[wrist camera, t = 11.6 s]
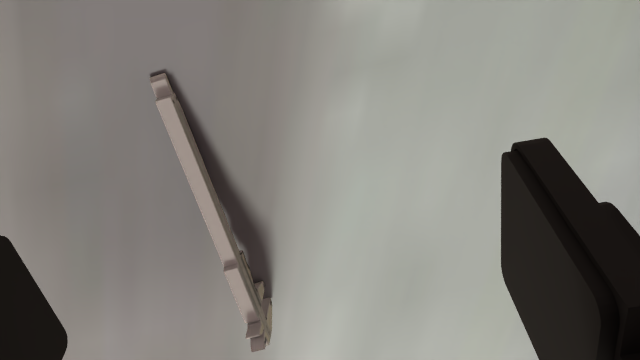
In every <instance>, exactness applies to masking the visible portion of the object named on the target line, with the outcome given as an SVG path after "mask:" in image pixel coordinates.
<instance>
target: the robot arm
mask: <svg viewBox="0 0 640 360" xmlns="http://www.w3.org/2000/svg"><path fill="white" fill-rule="evenodd" d="M501 268H502V274H503V278H504V281H505V284H506V286H507V288H508V291H509V293H510V295H511V297H512V300H513V302H514V304H515V306H516V309H517V311H518V313H519V315H520V318H521V320H522V322H523V324H524V327H525V329H526V331H527V333H528V336H529V338H530V340H531V342H532V345H533V347H534V349H535V351H536V354H537V356H538V358H539V360H640V236H639V235H638V233H637V232H636V231H635V230H634V228H633V227H632V226H631V225H630V224H629V222H628V221H627V220H626V219H625V217H624V216H623V215H622V214H621V213H620V211H619V210H618V209H617V208H616V207H615V206H614V205H613V204H611V203H608V202H602V203H598V202H597V200H596V199H595V198H594V197H593V195H592V194H591V193H590V191H589V190H588V189H587V188H586V186H585V185H584V184H583V183H582V181H581V180H580V179H579V177H578V176H577V175H576V174H575V172H574V171H573V170H572V168H571V167H570V166H569V165H568V163H567V162H566V161H565V159H564V158H563V157H562V156H561V154H560V153H559V152H558V150H557V149H556V148H555V147H554V145H553V144H552V143H551V141H550V140H549V139H547V138H540V139H534V140H528V141H522V142H516V143H514V144H513V145H512V148H511V152H505V153H503V154H502V160H501ZM66 348H67V334H66V331H65V329H64V328H63V326H62V324H61V323H60V321H59V319H58V318H57V316H56V315H55V313H54V311H53V310H52V308H51V306H50V305H49V303H48V302H47V300H46V298H45V297H44V295H43V294H42V292H41V290H40V289H39V287H38V285H37V284H36V282H35V281H34V279H33V277H32V276H31V274H30V272H29V271H28V269H27V268H26V266H25V264H24V263H23V261H22V260H21V258H20V256H19V255H18V253H17V251H16V250H15V248H14V247H13V245H12V243H11V242H10V241H9V239H8V238H6V237H5V236H0V360H62V358H63V356H64V354H65V351H66Z"/></svg>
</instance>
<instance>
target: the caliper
mask: <svg viewBox="0 0 640 360" xmlns="http://www.w3.org/2000/svg"><path fill="white" fill-rule="evenodd" d="M150 81H151V86H152V88H153V91H154V93H155V95H156V98H157V100H156V101H155V102H156V105H157V107H158V110H159V112H160V114H161V117H162V119H163V122H164V124H165V126H166V129H167V131H168V134H169V136H170V139H171V141H172V143H173V146H174V148H175V151H176V153H177V155H178V158H179V160H180V163H181V165H182V167H183V170H184V172H185V175H186V177H187V179H188V182H189V184H190V187H191V189H192V191H193V194H194V196H195V198H196V201H197V203H198V206H199V208H200V210H201V213H202V215H203V218H204V220H205V222H206V225H207V227H208V230H209V232H210V234H211V237H212V239H213V242H214V244H215V246H216V249H217V251H218V254H219V256H220V258H221V261H222V263H223V266H224V273H225V276H226V278H227V281H228V283H229V285H230V288H231V290H232V293H233V295H234V298H235V300H236V302H237V305H238V307H239V310H240V312H241V315H242V317H243V319H244V322H245V323H248V330H247V333H246V339H248V338H251V351H252V352H255V351H259V350H263V349H265V346H268V345H269V342H270V337H271V331H272V302H271V298H270V297H268V298H264V299H263V295H264V287H265V285H264V282H263V281H261V282H257V283H253V278H252V275H251V272H250V268H249V266H248V264H247V262H246V259H245V256H244V253H243V251H242V250H241V251H239V249H238V247H237V244H236V242H235V239H234V237H233V234H232V232H231V229H230V227H229V224H228V222H227V219H226V217H225V214H224V212H223V209H222V207H221V204H220V202H219V199H218V197H217V194H216V192H215V189H214V187H213V184H212V182H211V179H210V177H209V174H208V172H207V169H206V167H205V164H204V162H203V159H202V157H201V154H200V152H199V149H198V147H197V144H196V142H195V139H194V137H193V134H192V132H191V129H190V127H189V124H188V122H187V119H186V117H185V114H184V112H183V110H182V108H181V105H180V103H179V101H178V99H177V97H176V95H175V93H173V91H172V88H171V86H170V83H169V80H168V78H167V76H166V74H165V73H162V74H159V75H156V76H153V77H150Z"/></svg>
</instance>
